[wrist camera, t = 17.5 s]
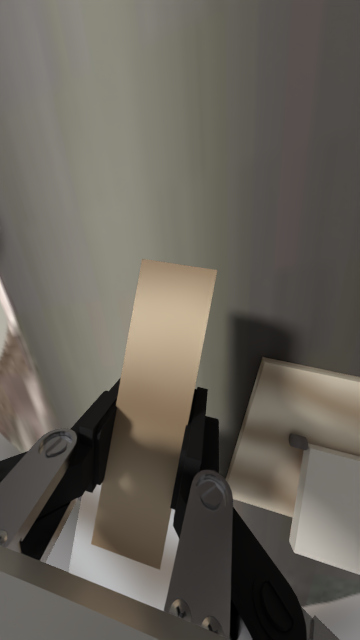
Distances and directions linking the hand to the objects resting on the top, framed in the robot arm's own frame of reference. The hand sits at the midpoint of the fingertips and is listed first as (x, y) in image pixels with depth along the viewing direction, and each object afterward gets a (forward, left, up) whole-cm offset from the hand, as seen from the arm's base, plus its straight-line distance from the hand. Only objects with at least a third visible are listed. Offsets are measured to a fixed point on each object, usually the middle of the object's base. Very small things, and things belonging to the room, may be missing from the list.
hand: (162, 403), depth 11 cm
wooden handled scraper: (+3, 0, 0) cm, 3 cm away
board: (+9, +17, -9) cm, 22 cm away
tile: (+11, +17, -5) cm, 21 cm away
